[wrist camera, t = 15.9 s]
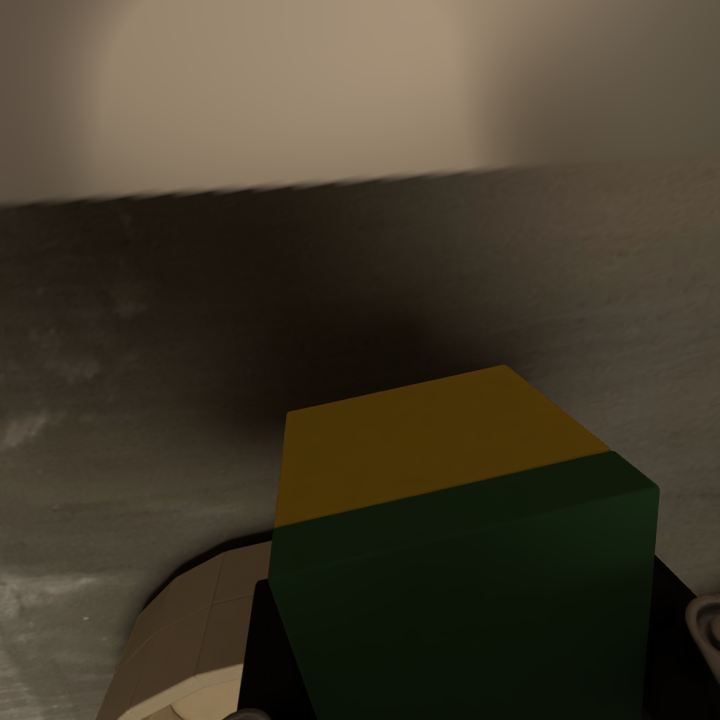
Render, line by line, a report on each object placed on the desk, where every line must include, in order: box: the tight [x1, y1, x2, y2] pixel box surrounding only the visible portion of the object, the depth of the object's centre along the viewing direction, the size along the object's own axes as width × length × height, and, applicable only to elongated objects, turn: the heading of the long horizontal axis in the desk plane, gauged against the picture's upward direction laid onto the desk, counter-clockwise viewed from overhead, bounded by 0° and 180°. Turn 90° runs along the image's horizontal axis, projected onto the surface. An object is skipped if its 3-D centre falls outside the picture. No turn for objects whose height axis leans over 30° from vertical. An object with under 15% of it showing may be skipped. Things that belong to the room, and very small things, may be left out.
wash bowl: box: [96, 540, 272, 720], centre depth 18 cm, size 15×15×6 cm
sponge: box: [267, 365, 660, 720], centre depth 9 cm, size 8×5×4 cm, turn 11°
